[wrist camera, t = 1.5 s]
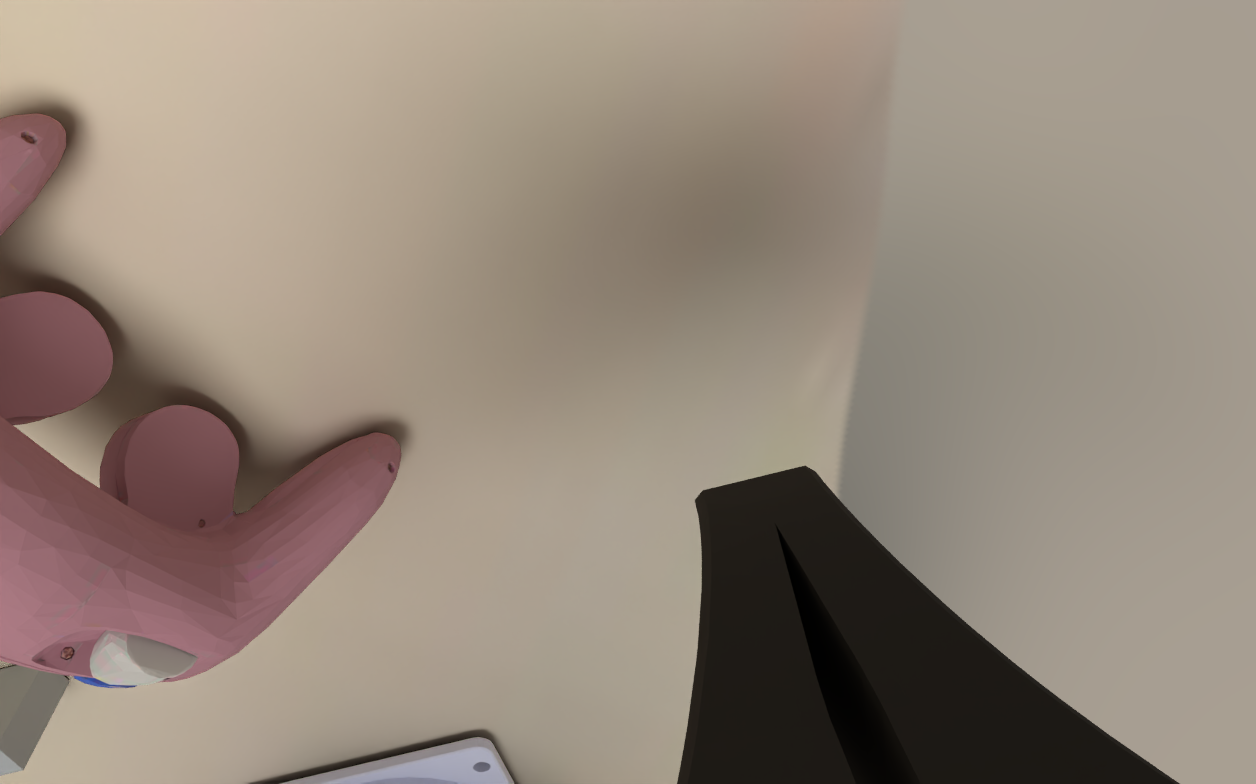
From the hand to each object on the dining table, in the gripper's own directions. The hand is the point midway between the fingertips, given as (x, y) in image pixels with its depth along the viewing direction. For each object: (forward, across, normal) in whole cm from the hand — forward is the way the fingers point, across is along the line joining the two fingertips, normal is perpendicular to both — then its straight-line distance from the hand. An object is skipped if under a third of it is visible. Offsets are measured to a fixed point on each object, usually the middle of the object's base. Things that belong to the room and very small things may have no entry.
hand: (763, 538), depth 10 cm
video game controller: (+9, +11, 0) cm, 14 cm away
